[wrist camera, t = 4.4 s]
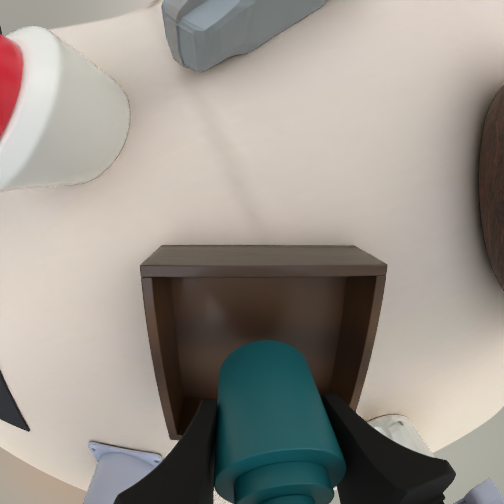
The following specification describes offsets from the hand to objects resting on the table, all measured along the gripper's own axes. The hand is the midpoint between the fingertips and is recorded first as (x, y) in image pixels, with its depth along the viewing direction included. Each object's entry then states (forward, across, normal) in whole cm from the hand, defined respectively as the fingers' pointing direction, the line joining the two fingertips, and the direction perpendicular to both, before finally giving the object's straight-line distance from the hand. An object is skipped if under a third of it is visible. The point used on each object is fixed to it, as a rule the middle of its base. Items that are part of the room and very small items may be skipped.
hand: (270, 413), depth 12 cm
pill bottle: (+8, +12, -14) cm, 20 cm away
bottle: (+3, 0, 0) cm, 3 cm away
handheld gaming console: (+8, -1, -22) cm, 23 cm away
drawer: (+8, 0, 0) cm, 8 cm away
